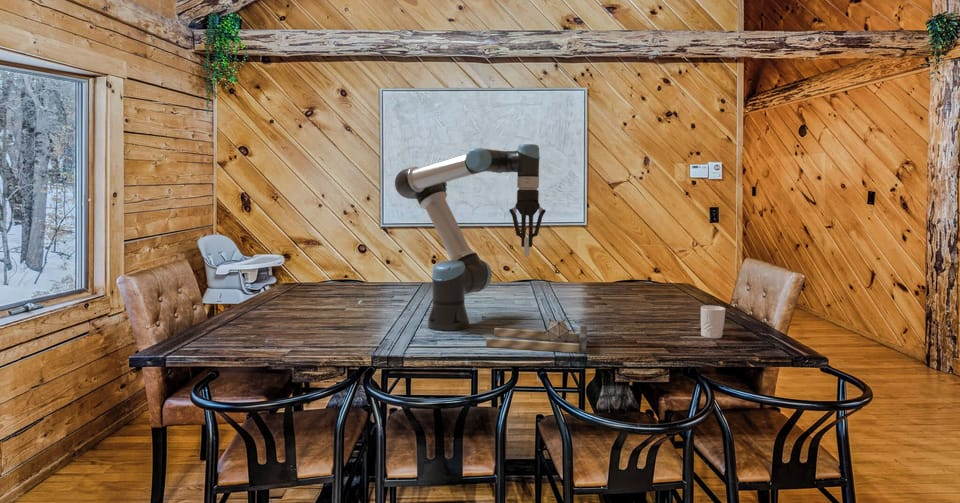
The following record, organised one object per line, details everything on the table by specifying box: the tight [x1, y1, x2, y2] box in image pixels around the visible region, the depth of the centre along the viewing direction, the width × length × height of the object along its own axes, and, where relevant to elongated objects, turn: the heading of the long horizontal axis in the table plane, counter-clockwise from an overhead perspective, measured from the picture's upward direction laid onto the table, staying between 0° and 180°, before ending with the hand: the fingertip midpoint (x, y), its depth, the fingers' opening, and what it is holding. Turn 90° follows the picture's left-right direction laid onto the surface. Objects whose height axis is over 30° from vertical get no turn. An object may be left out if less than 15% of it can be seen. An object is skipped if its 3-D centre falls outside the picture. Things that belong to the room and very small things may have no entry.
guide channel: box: [485, 325, 588, 354], centre depth 182 cm, size 31×15×5 cm, turn 78°
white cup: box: [700, 304, 726, 339], centre depth 193 cm, size 8×8×10 cm
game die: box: [543, 318, 573, 343], centre depth 182 cm, size 9×8×10 cm
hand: (526, 256), depth 198 cm, fingers closed
